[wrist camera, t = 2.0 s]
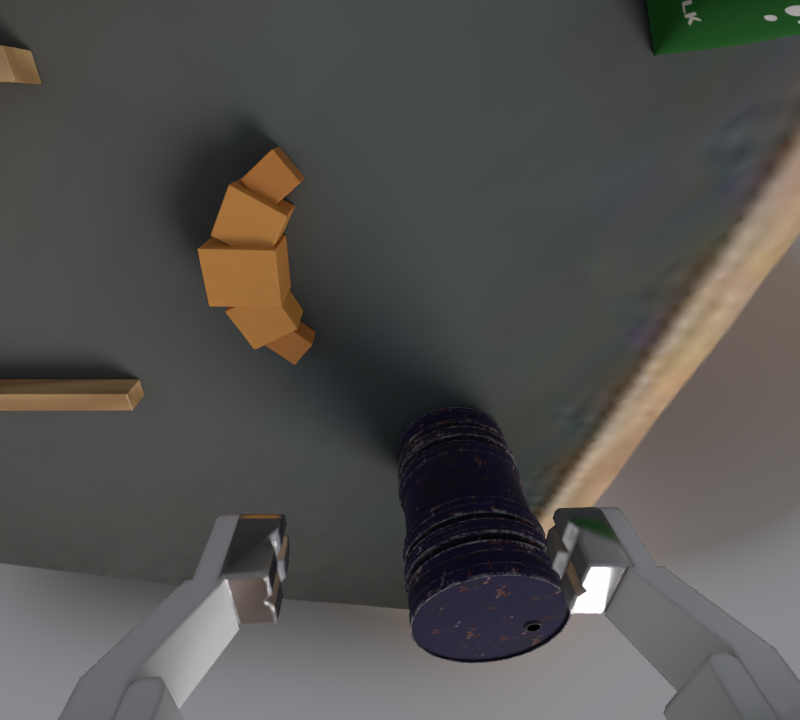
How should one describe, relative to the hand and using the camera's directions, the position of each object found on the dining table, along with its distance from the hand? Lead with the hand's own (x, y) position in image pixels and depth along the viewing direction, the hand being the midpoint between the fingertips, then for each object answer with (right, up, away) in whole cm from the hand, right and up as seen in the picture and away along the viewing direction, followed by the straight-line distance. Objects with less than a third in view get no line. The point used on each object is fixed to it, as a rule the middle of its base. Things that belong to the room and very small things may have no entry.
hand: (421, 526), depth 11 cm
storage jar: (+4, -4, +27) cm, 28 cm away
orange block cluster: (-10, +11, +18) cm, 23 cm away
